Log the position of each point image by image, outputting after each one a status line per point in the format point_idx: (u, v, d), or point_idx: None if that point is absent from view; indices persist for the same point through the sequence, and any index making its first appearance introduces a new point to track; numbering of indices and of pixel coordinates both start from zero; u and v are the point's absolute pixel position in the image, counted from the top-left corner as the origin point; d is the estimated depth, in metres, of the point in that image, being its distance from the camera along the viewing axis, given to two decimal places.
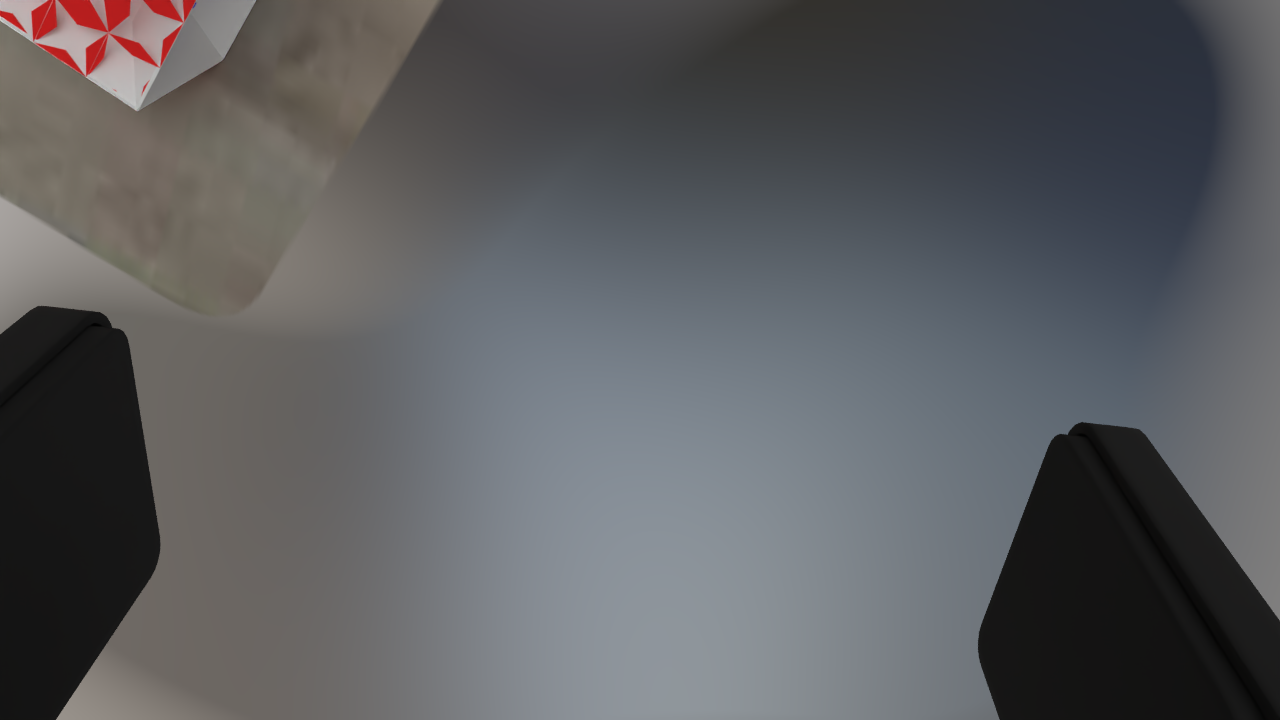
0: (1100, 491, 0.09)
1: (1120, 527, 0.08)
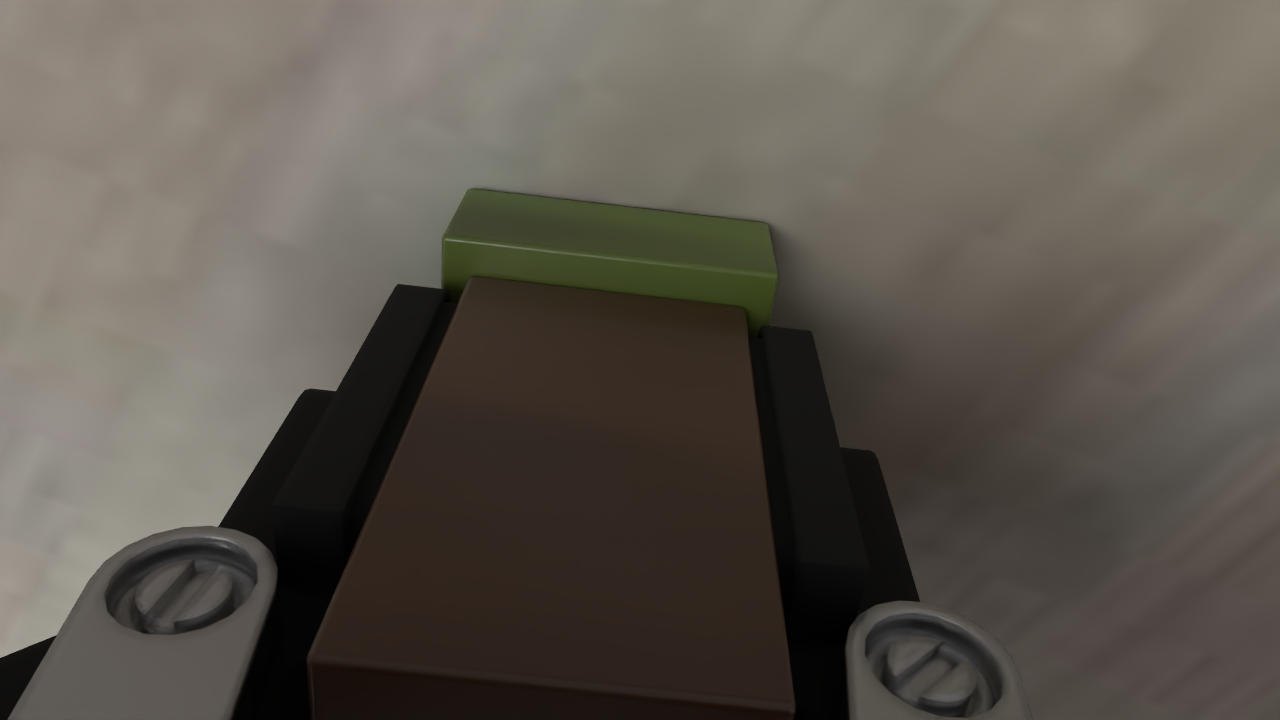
0: None
1: None
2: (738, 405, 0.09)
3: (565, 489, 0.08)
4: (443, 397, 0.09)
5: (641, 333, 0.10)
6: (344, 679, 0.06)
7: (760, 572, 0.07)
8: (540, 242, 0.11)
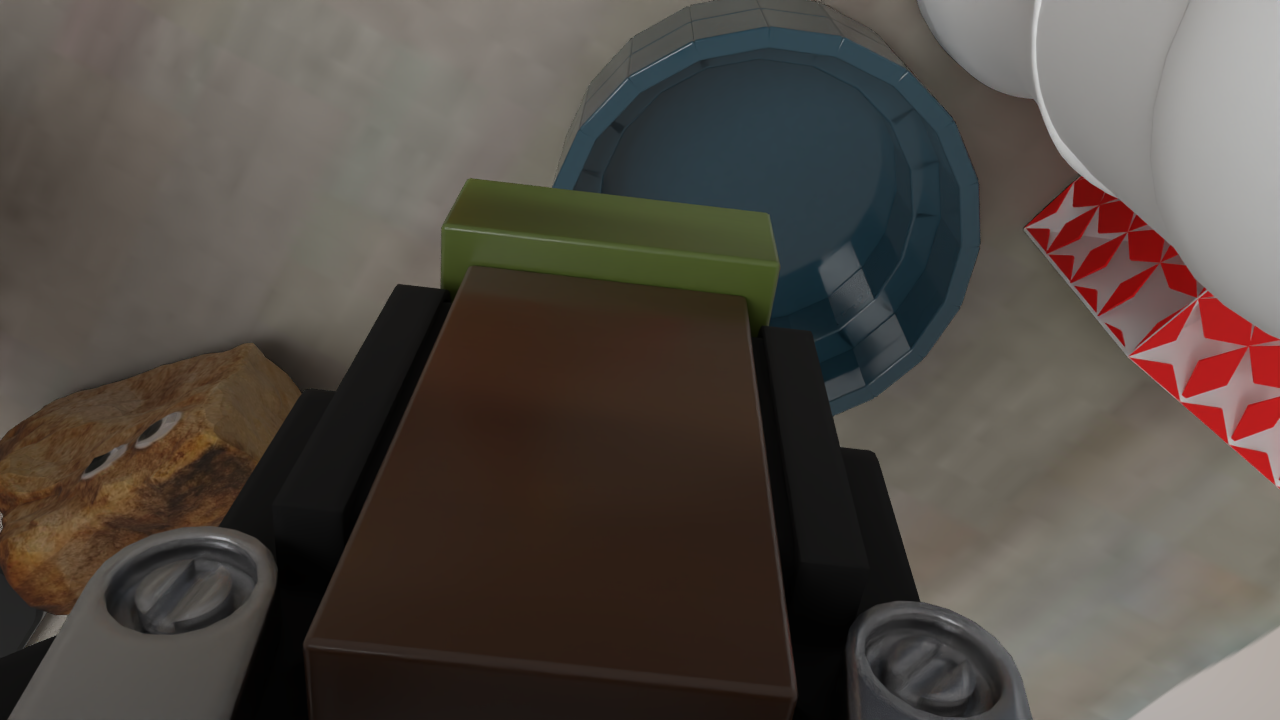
0: None
1: None
2: (739, 393, 0.09)
3: (564, 476, 0.08)
4: (442, 384, 0.09)
5: (642, 321, 0.10)
6: (341, 664, 0.06)
7: (761, 559, 0.07)
8: (539, 231, 0.11)
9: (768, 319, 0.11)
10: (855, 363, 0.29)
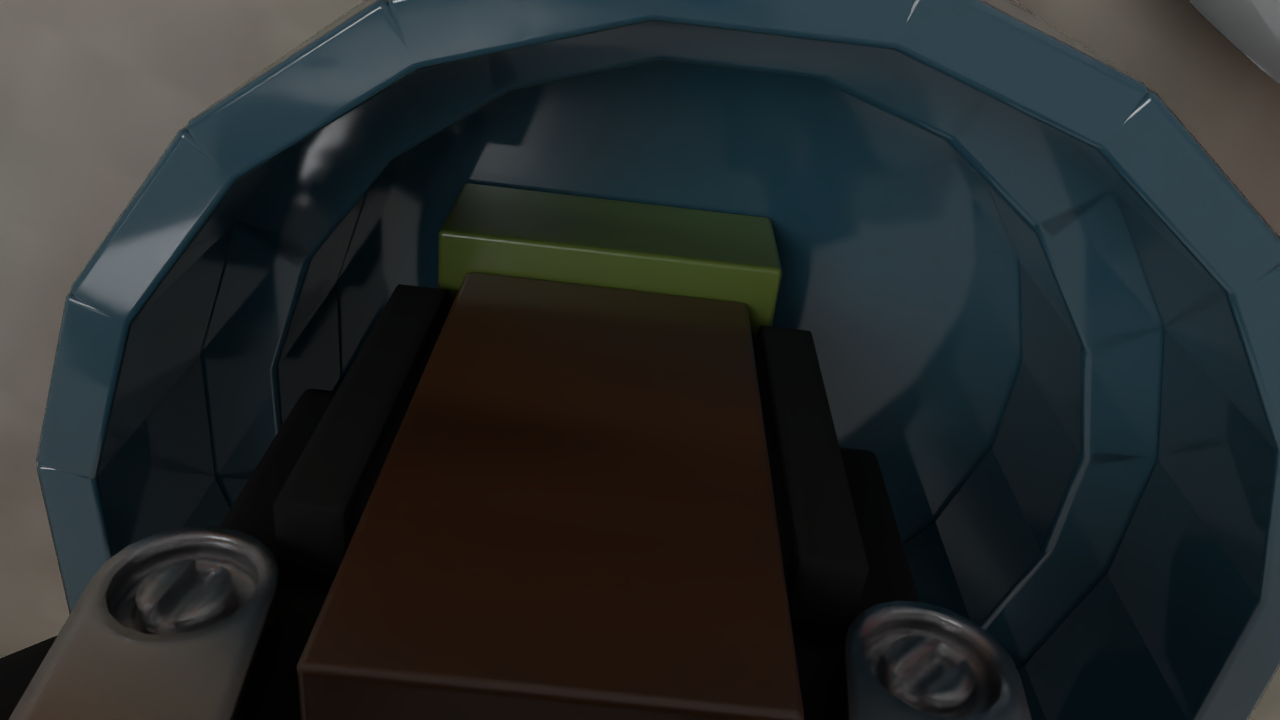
0: None
1: None
2: (741, 403, 0.09)
3: (565, 490, 0.07)
4: (439, 395, 0.08)
5: (643, 330, 0.10)
6: (336, 688, 0.06)
7: (763, 575, 0.07)
8: (538, 237, 0.10)
9: None
10: None
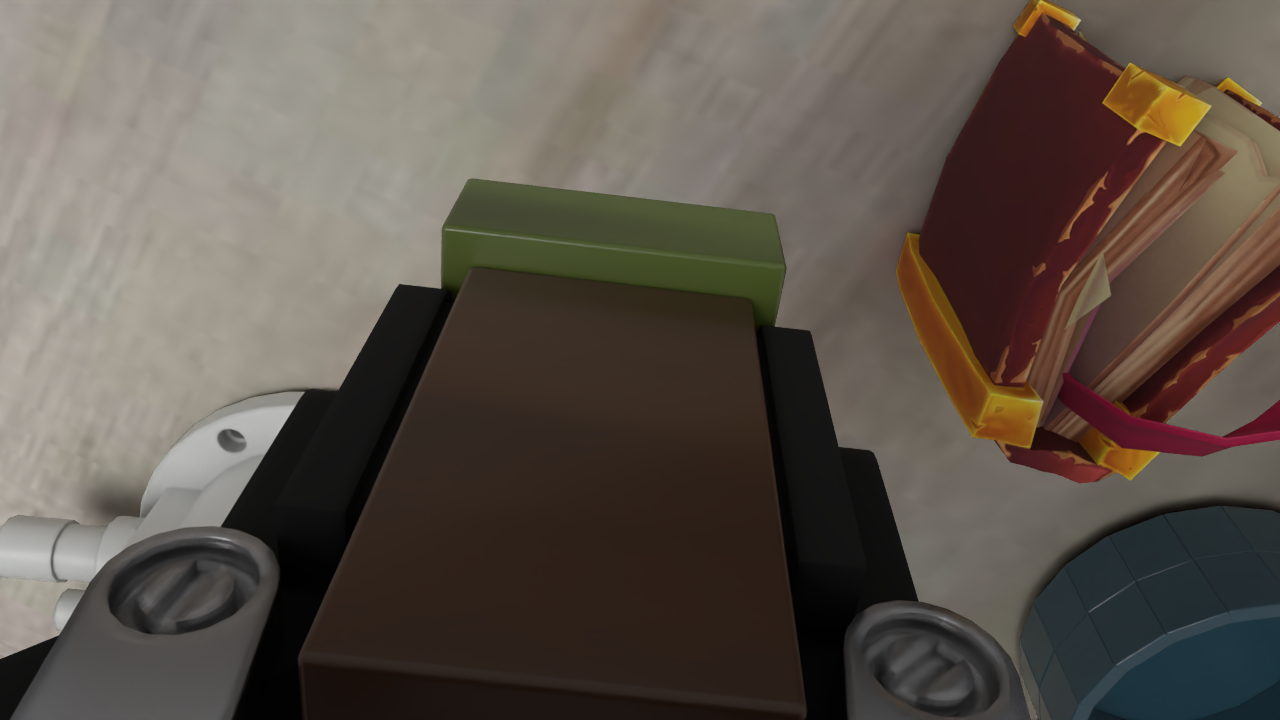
0: None
1: None
2: (745, 398, 0.09)
3: (568, 484, 0.07)
4: (442, 389, 0.08)
5: (646, 324, 0.10)
6: (336, 680, 0.06)
7: (769, 571, 0.07)
8: (541, 231, 0.10)
9: (774, 322, 0.11)
10: None
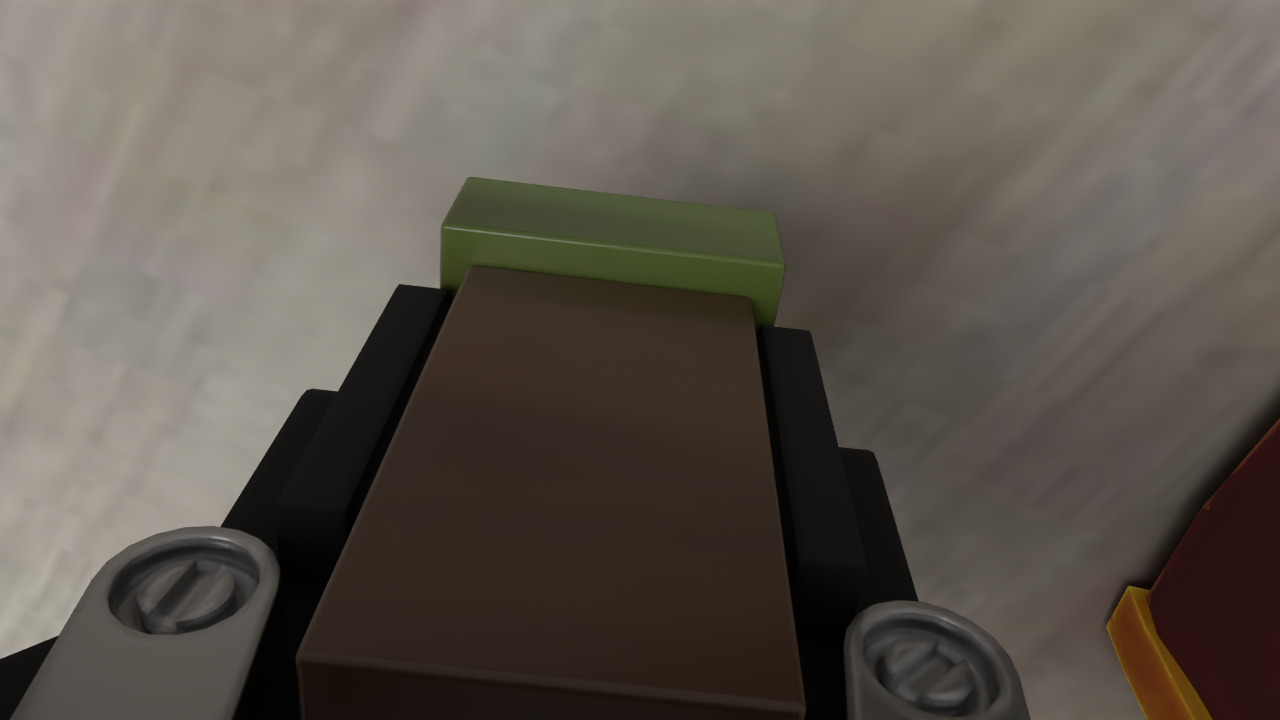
0: None
1: None
2: (744, 396, 0.09)
3: (566, 481, 0.07)
4: (440, 387, 0.08)
5: (645, 323, 0.10)
6: (334, 678, 0.06)
7: (767, 568, 0.07)
8: (540, 230, 0.10)
9: (773, 320, 0.11)
10: None
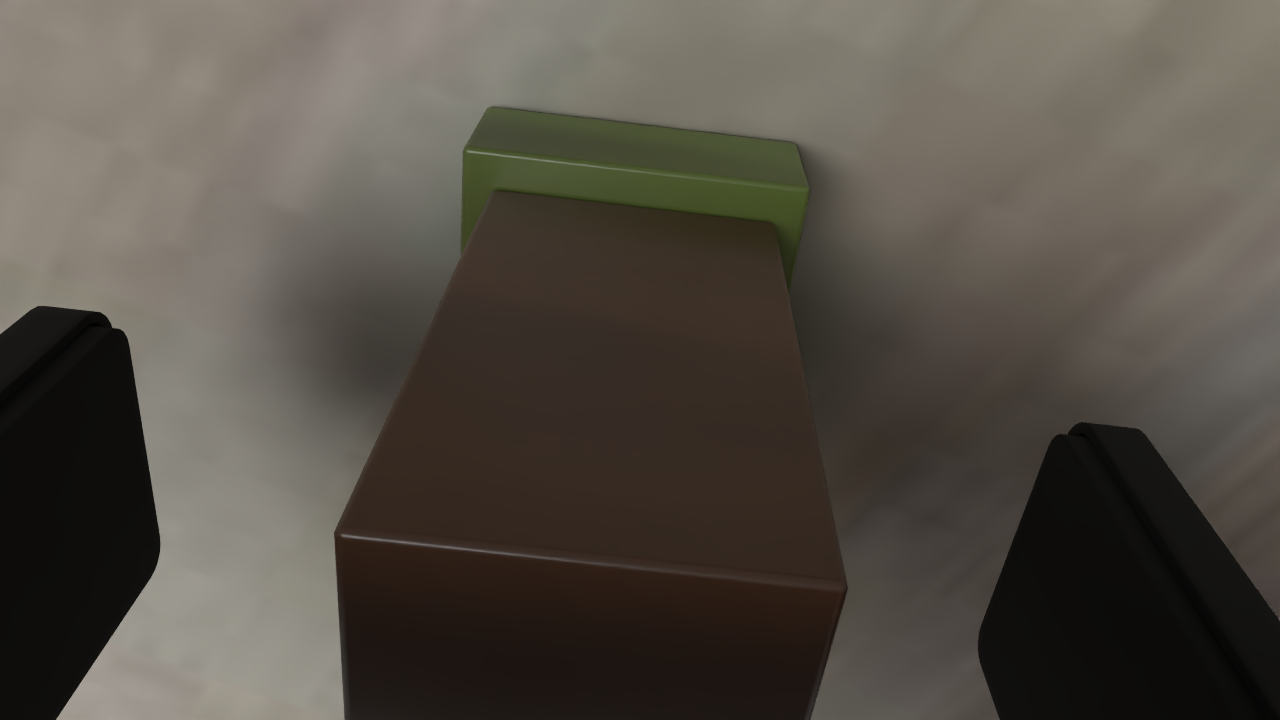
0: (1100, 491, 0.09)
1: (1120, 527, 0.08)
2: (772, 310, 0.09)
3: (599, 381, 0.07)
4: (468, 297, 0.08)
5: (670, 244, 0.10)
6: (374, 554, 0.06)
7: (802, 460, 0.07)
8: (563, 155, 0.10)
9: (796, 247, 0.11)
10: None
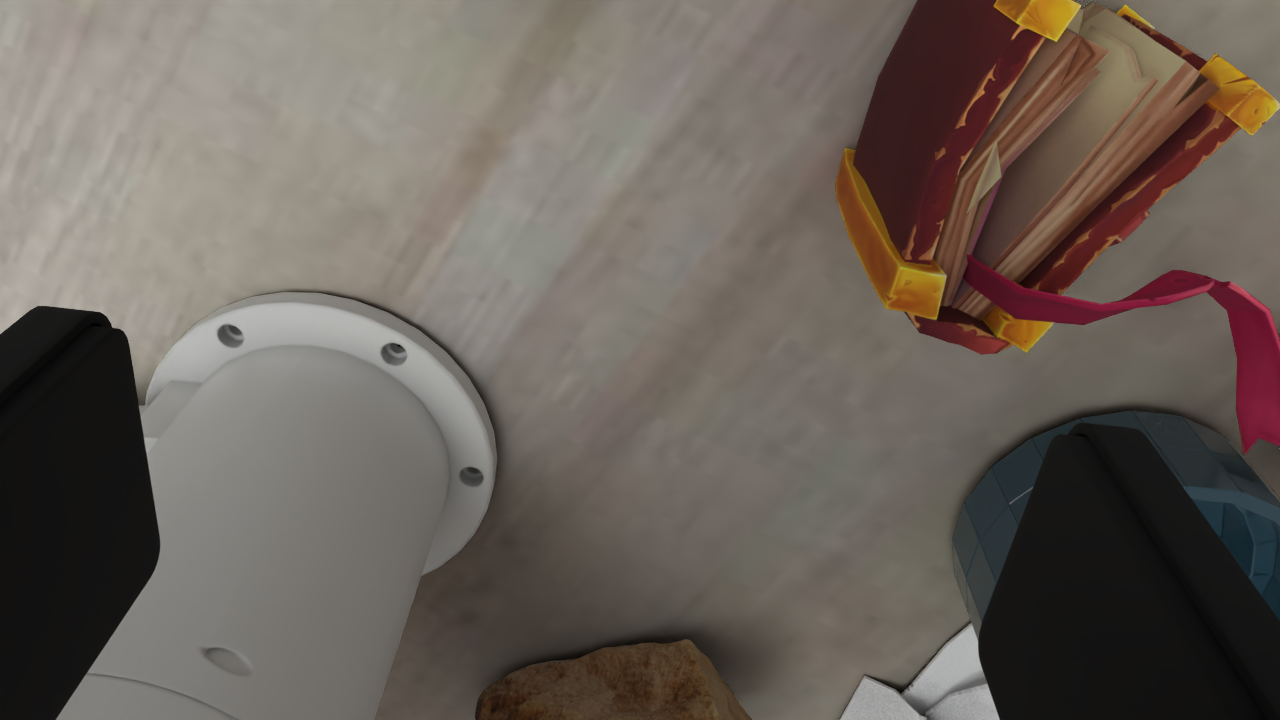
0: (1100, 491, 0.09)
1: (1120, 526, 0.08)
2: None
3: None
4: None
5: None
6: None
7: None
8: None
9: None
10: None
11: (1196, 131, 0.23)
